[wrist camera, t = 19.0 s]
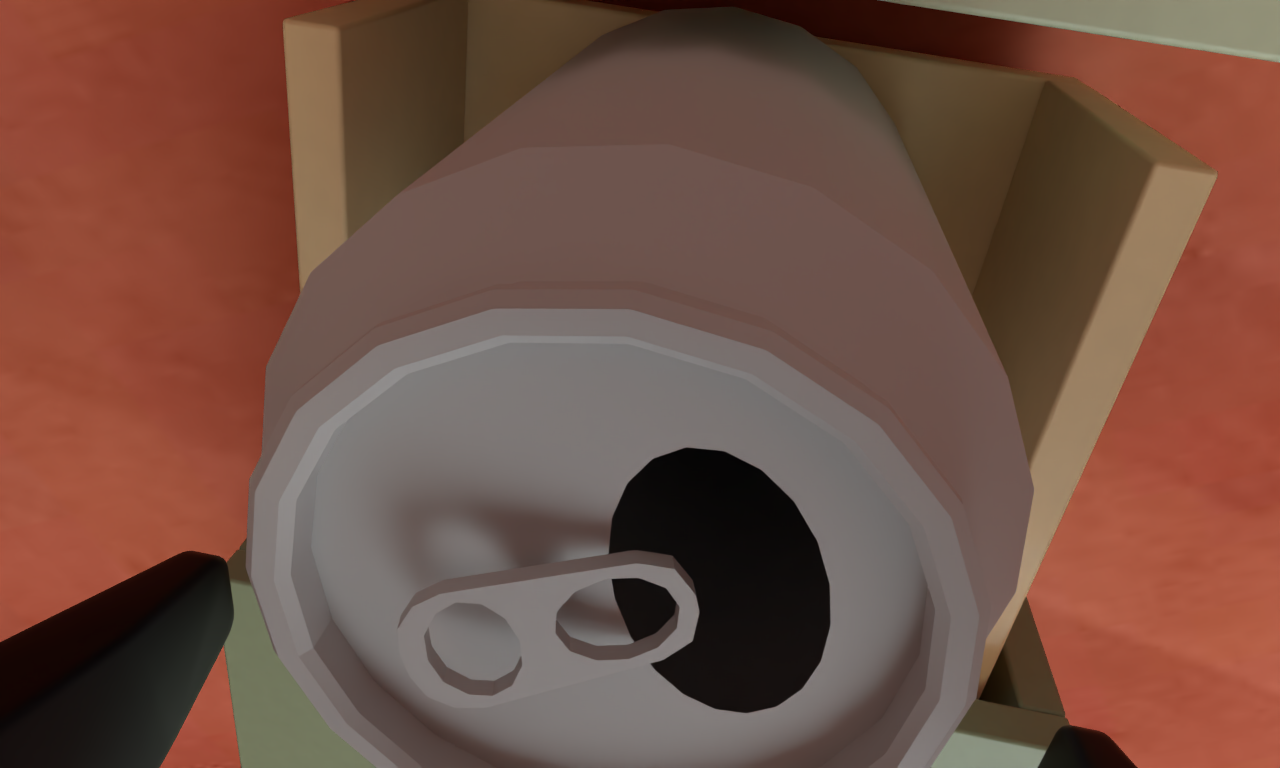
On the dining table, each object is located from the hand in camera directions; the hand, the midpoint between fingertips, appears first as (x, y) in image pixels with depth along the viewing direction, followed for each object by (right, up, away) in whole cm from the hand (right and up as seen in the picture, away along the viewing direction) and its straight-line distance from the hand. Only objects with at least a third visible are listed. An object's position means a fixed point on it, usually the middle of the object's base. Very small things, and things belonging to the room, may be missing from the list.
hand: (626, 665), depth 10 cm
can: (+2, +7, +8) cm, 11 cm away
